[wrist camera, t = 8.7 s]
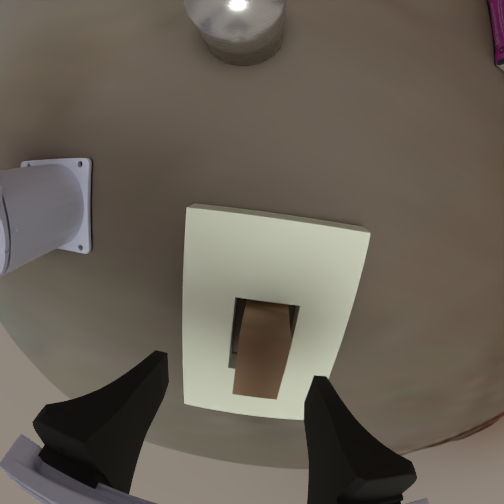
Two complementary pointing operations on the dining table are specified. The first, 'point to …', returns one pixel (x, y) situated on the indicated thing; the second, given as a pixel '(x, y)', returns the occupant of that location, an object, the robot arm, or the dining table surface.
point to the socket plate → (264, 298)
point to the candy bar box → (498, 30)
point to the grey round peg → (239, 28)
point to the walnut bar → (262, 349)
